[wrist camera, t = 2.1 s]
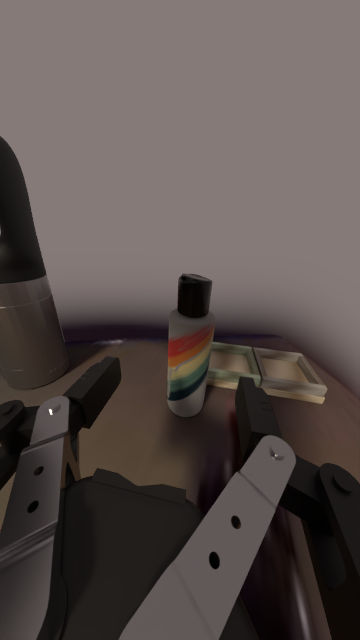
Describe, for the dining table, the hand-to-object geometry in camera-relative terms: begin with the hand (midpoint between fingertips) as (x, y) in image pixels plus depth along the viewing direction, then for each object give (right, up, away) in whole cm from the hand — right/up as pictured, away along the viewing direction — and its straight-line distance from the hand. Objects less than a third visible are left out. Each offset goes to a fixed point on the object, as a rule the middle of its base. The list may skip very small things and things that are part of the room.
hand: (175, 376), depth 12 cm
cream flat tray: (+15, -7, +24) cm, 29 cm away
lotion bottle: (+1, -9, +17) cm, 19 cm away
